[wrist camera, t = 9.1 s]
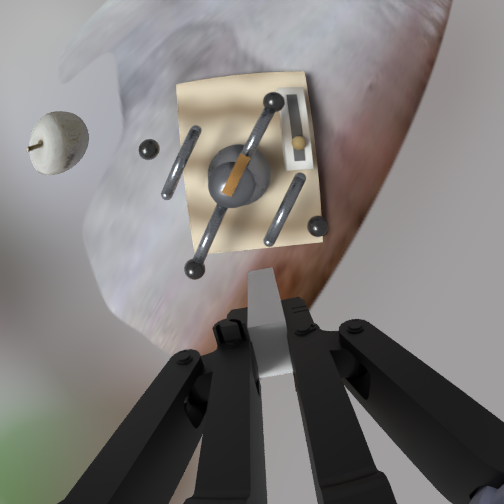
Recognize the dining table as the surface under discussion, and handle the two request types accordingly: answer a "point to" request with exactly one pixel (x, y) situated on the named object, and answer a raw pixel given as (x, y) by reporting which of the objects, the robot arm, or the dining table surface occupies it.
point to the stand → (271, 146)
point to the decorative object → (57, 142)
